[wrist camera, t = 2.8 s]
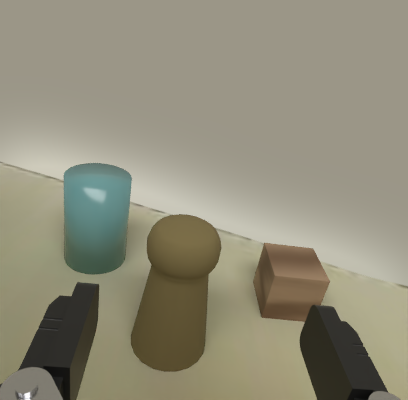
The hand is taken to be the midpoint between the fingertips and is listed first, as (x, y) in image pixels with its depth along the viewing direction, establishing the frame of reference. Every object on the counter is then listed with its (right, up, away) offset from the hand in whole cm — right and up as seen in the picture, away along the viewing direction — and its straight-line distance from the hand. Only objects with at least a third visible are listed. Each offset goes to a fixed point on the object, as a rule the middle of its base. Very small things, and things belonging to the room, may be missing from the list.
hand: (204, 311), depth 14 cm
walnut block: (+8, -6, +23) cm, 25 cm away
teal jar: (-11, -2, +25) cm, 27 cm away
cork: (-3, -7, +17) cm, 18 cm away
